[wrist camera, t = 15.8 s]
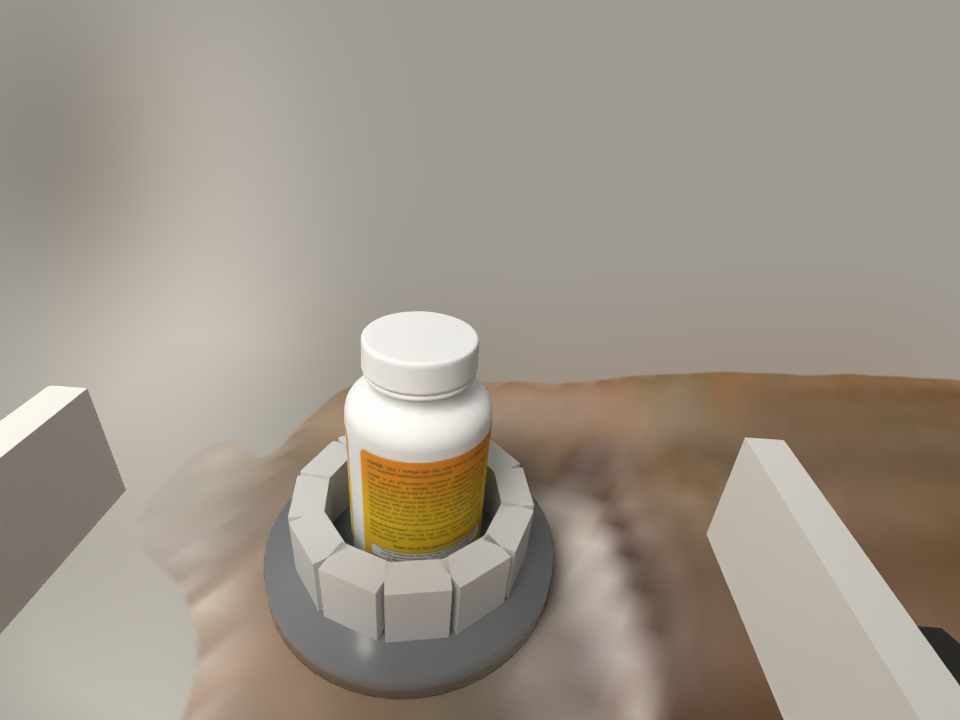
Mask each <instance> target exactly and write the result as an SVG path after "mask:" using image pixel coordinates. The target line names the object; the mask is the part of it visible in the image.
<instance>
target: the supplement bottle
mask: <svg viewBox="0 0 960 720" xmlns="http://www.w3.org/2000/svg"><path fill="white" fill-rule="evenodd" d="M478 353H479V339H478V335H477V333H476V332H475V330H474V329H473V328H472V327H471V326H470V325H468V324H467V323H465V322H464V321H462V320H459V319H457V318H454V317H451V316H448V315H444V314H440V313H433V312H421V311H419V312H417V311H415V312H401V313H395V314H391V315H387V316H384V317H381V318H379V319H377V320H375V321H373V322H372V323H370V324H369V325H368V326H367V327H366V328H365V329H364V331H363V333H362V335H361V368H362V371H363V376H362V377H361V378H360V379H358V380H357V381H356V382H355V384H354V385H353V386H352V388H351V389H350V391H349V393H348V395H347V398H346V402H345V408H344V424H345V437H346V450H347V466H348V481H349V497H350V515H351V528H352V536H353V543H354V547H355V548H357V549H360V550H362V551H365V552H367V553H370V554H372V555H374V556H377V557H379V558H382V559H384V560H386V561H389V562H401V561H417V560H433V559H444V558H446V557H448V556H449V555H451V554H453V553H455V552H457V551H458V550H460V549H462V548H464V547H465V546H467V545H469V544H471V543H473V542H474V541H476V540H478V539H480V532H481V523H482V513H483V502H484V491H485V483H486V474H487V461H488V452H489V443H490V434H491V424H492V404H491V399H490V396H489V393H488V391H487V389H486V388H485V386H484V385H483V384H482V382H481V381H480V380H479V379H478V378H476V374H477V368H478Z"/></svg>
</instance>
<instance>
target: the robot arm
mask: <svg viewBox="0 0 960 720" xmlns="http://www.w3.org/2000/svg"><path fill="white" fill-rule="evenodd" d="M125 490H126V489H125V487H124V484H123V482H122V479H121V476H120V473H119V471H118V468H117V465H116V463H115V460H114V458H113V455H112V452H111V450H110V447H109V445H108V442H107V439H106V437H105V434H104V431H103V429H102V426H101V423H100V421H99V418H98V416H97V413H96V410H95V408H94V405H93V402H92V400H91V397H90V395H89V392H88V389H87V388H74V387H62V386H48V387H47V388H45V389H44V390H43V391H41V392H40V393H38V394H37V395H35V396H34V397H33V398H31V399H30V400H29V401H27V402H26V403H24V404H23V405H22V406H20V407H19V408H18V409H16V410H15V411H14V412H12V413H11V414H9V415H8V416H7V417H5V418H4V419H3V420H1V421H0V634H1V632H2V631H3V630H4V629H5V628H6V627H7V626H8V625H9V623H10V622H11V621H12V620H13V619H14V618H15V617H16V615H17V614H18V613H19V612H20V611H21V610H22V608H23V607H24V606H25V605H26V604H27V603H28V602H29V600H30V599H31V598H32V597H33V596H34V595H35V593H36V592H37V591H38V590H39V589H40V588H41V587H42V585H43V584H44V583H45V582H46V581H47V580H48V579H49V577H50V576H51V575H52V574H53V573H54V572H55V571H56V570H57V568H58V567H59V566H60V565H61V564H62V563H63V561H64V560H65V559H66V558H67V557H68V556H69V555H70V553H71V552H72V551H73V550H74V549H75V548H76V547H77V545H78V544H79V543H80V542H81V541H82V540H83V538H84V537H85V536H86V535H87V534H88V533H89V532H90V531H91V529H92V528H93V527H94V526H95V525H96V524H97V522H98V521H99V520H100V519H101V518H102V517H103V516H104V515H105V513H106V512H107V511H108V510H109V509H110V508H111V506H112V505H113V504H114V503H115V502H116V501H117V500H118V498H119V497H120V496H121V495H122V494H123V493H124V491H125ZM707 537H708V539H709V541H710V544H711V546H712V549H713V551H714V553H715V556H716V558H717V561H718V563H719V565H720V568H721V570H722V573H723V575H724V578H725V580H726V582H727V585H728V587H729V590H730V592H731V594H732V597H733V599H734V602H735V604H736V606H737V609H738V611H739V614H740V616H741V618H742V621H743V623H744V626H745V628H746V631H747V633H748V635H749V638H750V640H751V643H752V645H753V647H754V650H755V652H756V655H757V657H758V659H759V662H760V664H761V667H762V669H763V671H764V674H765V676H766V679H767V681H768V683H769V686H770V688H771V691H772V693H773V696H774V698H775V700H776V703H777V705H778V708H779V710H780V712H781V715H782V717H783V720H960V644H959V643H958V642H957V641H956V640H954V639H953V638H952V637H951V636H950V635H949V634H948V633H946V632H945V631H944V630H943V629H942V628H932V627H919V626H916V624H915V623H914V621H913V620H912V619H911V617H910V616H909V614H908V613H907V612H906V610H905V609H904V607H903V606H902V605H901V603H900V602H899V600H898V599H897V598H896V596H895V595H894V593H893V592H892V591H891V589H890V588H889V586H888V585H887V584H886V582H885V581H884V579H883V578H882V577H881V575H880V574H879V572H878V571H877V570H876V568H875V567H874V565H873V564H872V563H871V561H870V560H869V558H868V557H867V556H866V554H865V553H864V552H863V550H862V549H861V547H860V546H859V545H858V543H857V542H856V540H855V539H854V538H853V536H852V535H851V533H850V532H849V531H848V529H847V528H846V526H845V525H844V524H843V522H842V521H841V519H840V518H839V517H838V515H837V514H836V512H835V511H834V510H833V508H832V507H831V505H830V504H829V503H828V501H827V500H826V498H825V497H824V496H823V494H822V493H821V491H820V490H819V489H818V487H817V486H816V484H815V483H814V482H813V480H812V479H811V477H810V476H809V475H808V473H807V472H806V471H805V469H804V468H803V466H802V465H801V464H800V462H799V461H798V459H797V458H796V457H795V455H794V454H793V452H792V451H791V450H790V448H789V447H788V445H787V444H786V443H785V441H784V440H773V439H759V438H746V437H745V439H744V441H743V444H742V446H741V449H740V451H739V454H738V456H737V459H736V461H735V464H734V466H733V469H732V471H731V474H730V477H729V479H728V482H727V484H726V487H725V489H724V492H723V494H722V497H721V499H720V502H719V504H718V507H717V509H716V512H715V514H714V517H713V519H712V522H711V524H710V527H709V529H708V532H707Z"/></svg>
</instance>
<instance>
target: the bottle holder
mask: <svg viewBox="0 0 960 720" xmlns="http://www.w3.org/2000/svg"><path fill="white" fill-rule="evenodd" d="M338 441H339V443H338V442H335V441H332V442H331V443H330V444H329V445H328V446H327V447H326V448H325V449H324V450H323V451H322V452H321V453H319V454H318V455H317V456H316V457H315V458H314V459H313V460H312V461H311V462H310V463H309V464H308V465H307V466H305V467H304V468H303V469H302V470H301V476H297V480H296V485H295V489H294V493H293V497H292V498H291V499H290V500H289V501H288V503H287V504H286V505H285V507H284V508H283V510H282V511H281V513H280V514H279V516H278V518H277V520H276V521H275V523H274V525H273V527H272V530H271V533H270V535H269V538H268V541H267V545H266V551H265V556H264V578H265V584H266V590H267V595H268V600H269V605H270V610H271V614H272V617H273V619H274V622H275V625H276V628H277V630H278V632H279V633H280V635H281V637H282V639H283V640H284V642H285V644H286V645H287V646H288V648H289V649H290V650H291V651H292V653H293V654H294V655H295V656H296V657H297V659H298V660H300V661H301V662H302V663H303V664H304V665H305V666H307V667H308V668H309V669H310V670H311V671H312V672H314V673H315V674H317V675H319V676H320V677H322V678H324V679H325V680H327V681H329V682H330V683H332V684H335V685H337V686H340V687H342V688H344V689H347V690H349V691H352V692H356V693H360V694H364V695H368V696H372V697H381V698H391V699H409V698H422V697H428V696H434V695H440V694H443V693H447V692H450V691H453V690H456V689H459V688H462V687H465V686H467V685H469V684H471V683H473V682H475V681H477V680H479V679H482V678H483V677H485V676H486V675H488V674H489V673H491V672H492V671H494V670H496V669H497V668H499V667H500V666H501V665H502V664H504V663H505V662H506V661H507V660H508V659H509V658H510V657H512V656H513V655H514V654H515V653H516V652H517V651H518V649H519V648H520V647H521V646H522V645H523V644H524V642H525V641H526V640H527V639H528V637H529V636H530V634H531V632H532V631H533V629H534V628H535V626H536V624H537V623H538V620H539V618H540V616H541V613H542V611H543V609H544V605H545V601H546V597H547V594H548V589H549V584H550V580H551V575H552V569H553V557H554V555H553V541H552V537H551V533H550V529H549V526H548V523H547V521H546V518H545V516H544V514H543V512H542V510H541V508H540V507H539V505H538V503H537V502H536V500H535V499H534V498H533V496H532V495H531V494H530V491H529V487H528V484H527V481H526V477H525V474H524V471H523V468H519V464H520V463H519V462H517V461H516V460H515V459H514V458H513V457H512V456H510V455H509V454H508V453H507V452H506V451H505V450H503V449H502V448H501V447H500V446H499V445H498V444H496V443H495V442H494V441H493V440H492V439H490V443H489V452H488V461H487V474H486V483H485V491H484V502H483V513H482V523H481V532H480V539H478V540H476V541H474V542H473V543H471V544H469V545H467V546H465V547H464V548H462V549H460V550H458V551H457V552H455V553H453V554H451V555H449V556H448V557H446V558H444V559H433V560H417V561H401V562H389V561H386V560H384V559H382V558H379V557H377V556H374V555H372V554H370V553H367V552H365V551H362V550H360V549H357V548H355V547H354V543H353V536H352V528H351V515H350V497H349V481H348V466H347V450H346V437H345V436H342V437H339V438H338Z"/></svg>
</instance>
